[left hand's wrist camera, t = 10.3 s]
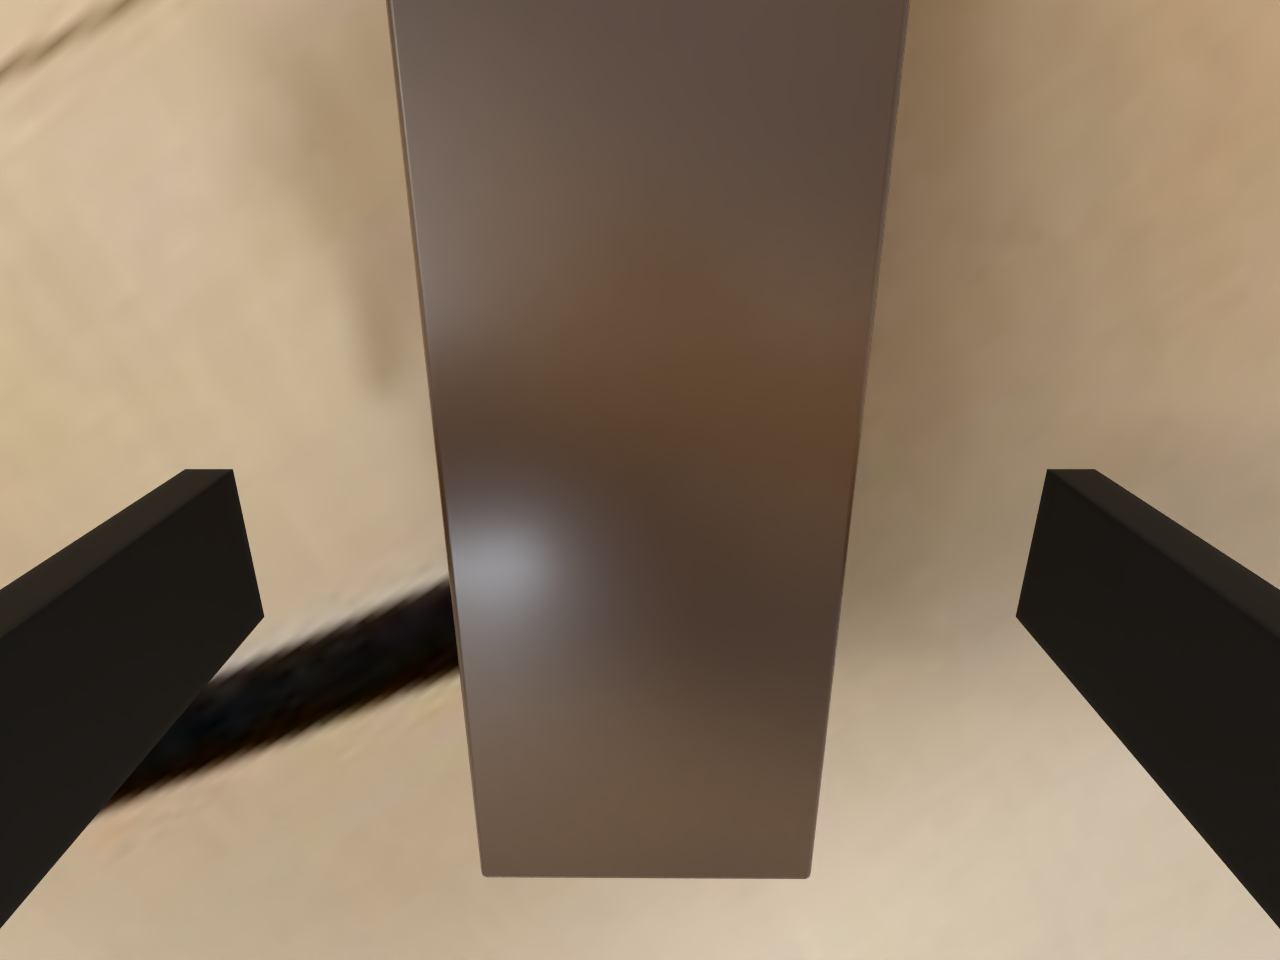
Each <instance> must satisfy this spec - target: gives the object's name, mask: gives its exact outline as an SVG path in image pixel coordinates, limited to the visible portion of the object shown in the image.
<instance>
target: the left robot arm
mask: <svg viewBox="0 0 1280 960" xmlns="http://www.w3.org/2000/svg"><path fill="white" fill-rule="evenodd" d="M263 618H264V613H263V608H262V604H261V599H260V594H259V590H258V585H257V580H256V576H255V571H254V566H253V562H252V557H251V552H250V548H249V543H248V538H247V534H246V529H245V524H244V520H243V515H242V510H241V505H240V501H239V496H238V491H237V487H236V482H235V477H234V473H233V469H185V470H183V471H182V472H180V473H179V474H177V475H176V476H174V477H173V478H171V479H170V480H168V481H167V482H165V483H164V484H162V485H160V486H159V487H157V488H156V489H154V490H153V491H151V492H150V493H148V494H147V495H145V496H144V497H142V498H141V499H139V500H137V501H136V502H134V503H133V504H131V505H130V506H128V507H127V508H125V509H124V510H122V511H121V512H119V513H118V514H116V515H114V516H113V517H111V518H110V519H108V520H107V521H105V522H104V523H102V524H101V525H99V526H98V527H96V528H95V529H93V530H91V531H90V532H88V533H87V534H85V535H84V536H82V537H81V538H79V539H78V540H76V541H75V542H73V543H72V544H70V545H68V546H67V547H65V548H64V549H62V550H61V551H59V552H58V553H56V554H55V555H53V556H52V557H50V558H49V559H47V560H45V561H44V562H42V563H41V564H39V565H38V566H36V567H35V568H33V569H32V570H30V571H29V572H27V573H26V574H24V575H22V576H21V577H19V578H18V579H16V580H15V581H13V582H12V583H10V584H9V585H7V586H6V587H4V588H3V589H1V590H0V928H1V927H2V926H3V925H4V923H5V922H6V921H7V920H8V919H9V918H10V916H11V915H12V914H13V913H14V912H15V910H16V909H17V908H18V907H19V906H20V905H21V903H22V902H23V901H24V900H25V899H26V897H27V896H28V895H29V894H30V893H31V892H32V890H33V889H34V888H35V887H36V886H37V884H38V883H39V882H40V881H41V880H42V879H43V877H44V876H45V875H46V874H47V873H48V871H49V870H50V869H51V868H52V867H53V866H54V864H55V863H56V862H57V861H58V860H59V858H60V857H61V856H62V855H63V854H64V853H65V851H66V850H67V849H68V848H69V847H70V846H71V844H72V843H73V842H74V841H75V840H76V838H77V837H78V836H79V835H80V834H81V833H82V831H83V830H84V829H85V828H86V827H87V825H88V824H89V823H90V822H91V821H92V820H93V818H94V817H95V816H96V815H97V814H98V812H99V811H100V810H101V809H102V808H103V807H104V805H105V804H106V803H107V802H108V801H109V799H110V798H111V797H112V796H113V795H114V794H115V792H116V791H117V790H118V789H119V788H120V786H121V785H122V784H123V783H124V782H125V781H126V779H127V778H128V777H129V776H130V775H131V773H132V772H133V771H134V770H135V769H136V768H137V766H138V765H139V764H140V763H141V762H142V760H143V759H144V758H145V757H146V756H147V755H148V753H149V752H150V751H151V750H152V749H153V747H154V746H155V745H156V744H157V743H158V742H159V740H160V739H161V738H162V737H163V736H164V734H165V733H166V732H167V731H168V730H169V729H170V727H171V726H172V725H173V724H174V723H175V721H176V720H177V719H178V718H179V717H180V716H181V714H182V713H183V712H184V711H185V710H186V708H187V707H188V706H189V705H190V704H191V703H192V701H193V700H194V699H195V698H196V697H197V695H198V694H199V693H200V692H201V691H202V690H203V688H204V687H205V686H206V685H207V684H208V682H209V681H210V680H211V679H212V678H213V677H214V675H215V674H216V673H217V672H218V671H219V670H220V668H221V667H222V666H223V665H224V664H225V662H226V661H227V660H228V659H229V658H230V657H231V655H232V654H233V653H234V652H235V651H236V649H237V648H238V647H239V646H240V645H241V644H242V642H243V641H244V640H245V639H246V638H247V636H248V635H249V634H250V633H251V632H252V631H253V629H254V628H255V627H256V626H257V625H258V623H259V622H260V621H261V620H262V619H263ZM1016 618H1017V619H1018V620H1019V621H1020V622H1021V623H1022V625H1023V626H1024V627H1025V628H1026V629H1027V631H1028V632H1029V633H1030V634H1031V635H1032V636H1033V638H1034V639H1035V640H1036V641H1037V642H1038V644H1039V645H1040V646H1041V647H1042V648H1043V649H1044V651H1045V652H1046V653H1047V654H1048V655H1049V657H1050V658H1051V659H1052V660H1053V661H1054V662H1055V664H1056V665H1057V666H1058V667H1059V668H1060V670H1061V671H1062V672H1063V673H1064V674H1065V675H1066V677H1067V678H1068V679H1069V680H1070V681H1071V682H1072V684H1073V685H1074V686H1075V687H1076V688H1077V690H1078V691H1079V692H1080V693H1081V694H1082V695H1083V697H1084V698H1085V699H1086V700H1087V701H1088V703H1089V704H1090V705H1091V706H1092V707H1093V708H1094V710H1095V711H1096V712H1097V713H1098V714H1099V716H1100V717H1101V718H1102V719H1103V720H1104V721H1105V723H1106V724H1107V725H1108V726H1109V727H1110V729H1111V730H1112V731H1113V732H1114V733H1115V734H1116V736H1117V737H1118V738H1119V739H1120V740H1121V742H1122V743H1123V744H1124V745H1125V746H1126V747H1127V749H1128V750H1129V751H1130V752H1131V753H1132V755H1133V756H1134V757H1135V758H1136V759H1137V760H1138V762H1139V763H1140V764H1141V765H1142V766H1143V768H1144V769H1145V770H1146V771H1147V772H1148V773H1149V775H1150V776H1151V777H1152V778H1153V779H1154V781H1155V782H1156V783H1157V784H1158V785H1159V786H1160V788H1161V789H1162V790H1163V791H1164V792H1165V794H1166V795H1167V796H1168V797H1169V798H1170V799H1171V801H1172V802H1173V803H1174V804H1175V805H1176V807H1177V808H1178V809H1179V810H1180V811H1181V812H1182V814H1183V815H1184V816H1185V817H1186V818H1187V820H1188V821H1189V822H1190V823H1191V824H1192V825H1193V827H1194V828H1195V829H1196V830H1197V831H1198V833H1199V834H1200V835H1201V836H1202V837H1203V838H1204V840H1205V841H1206V842H1207V843H1208V844H1209V846H1210V847H1211V848H1212V849H1213V850H1214V851H1215V853H1216V854H1217V855H1218V856H1219V857H1220V858H1221V860H1222V861H1223V862H1224V863H1225V864H1226V866H1227V867H1228V868H1229V869H1230V870H1231V871H1232V873H1233V874H1234V875H1235V876H1236V877H1237V879H1238V880H1239V881H1240V882H1241V883H1242V884H1243V886H1244V887H1245V888H1246V889H1247V890H1248V892H1249V893H1250V894H1251V895H1252V896H1253V897H1254V899H1255V900H1256V901H1257V902H1258V903H1259V905H1260V906H1261V907H1262V908H1263V909H1264V910H1265V912H1266V913H1267V914H1268V915H1269V916H1270V918H1271V919H1272V920H1273V921H1274V922H1275V923H1276V925H1277V926H1278V927H1279V928H1280V590H1279V589H1277V588H1276V587H1274V586H1273V585H1271V584H1270V583H1268V582H1267V581H1265V580H1264V579H1262V578H1261V577H1259V576H1258V575H1256V574H1254V573H1253V572H1251V571H1250V570H1248V569H1247V568H1245V567H1244V566H1242V565H1241V564H1239V563H1238V562H1236V561H1235V560H1233V559H1231V558H1230V557H1228V556H1227V555H1225V554H1224V553H1222V552H1221V551H1219V550H1218V549H1216V548H1215V547H1213V546H1212V545H1210V544H1208V543H1207V542H1205V541H1204V540H1202V539H1201V538H1199V537H1198V536H1196V535H1195V534H1193V533H1192V532H1190V531H1189V530H1187V529H1185V528H1184V527H1182V526H1181V525H1179V524H1178V523H1176V522H1175V521H1173V520H1172V519H1170V518H1169V517H1167V516H1166V515H1164V514H1162V513H1161V512H1159V511H1158V510H1156V509H1155V508H1153V507H1152V506H1150V505H1149V504H1147V503H1146V502H1144V501H1143V500H1141V499H1139V498H1138V497H1136V496H1135V495H1133V494H1132V493H1130V492H1129V491H1127V490H1126V489H1124V488H1123V487H1121V486H1120V485H1118V484H1116V483H1115V482H1113V481H1112V480H1110V479H1109V478H1107V477H1106V476H1104V475H1103V474H1101V473H1100V472H1098V471H1097V470H1095V469H1047V473H1046V477H1045V482H1044V487H1043V491H1042V496H1041V501H1040V505H1039V510H1038V515H1037V520H1036V524H1035V529H1034V534H1033V538H1032V543H1031V548H1030V552H1029V557H1028V562H1027V566H1026V571H1025V576H1024V580H1023V585H1022V590H1021V594H1020V599H1019V604H1018V608H1017V613H1016Z"/></svg>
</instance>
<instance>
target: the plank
mask: <svg viewBox="0 0 1280 960" xmlns="http://www.w3.org/2000/svg"><path fill="white" fill-rule="evenodd" d="M386 5H387V14H388V23H389V33H390V42H391V51H392V60H393V69H394V78H395V87H396V96H397V105H398V115H399V124H400V133H401V142H402V151H403V160H404V169H405V178H406V188H407V197H408V206H409V215H410V224H411V233H412V242H413V251H414V260H415V270H416V279H417V288H418V297H419V306H420V315H421V324H422V333H423V343H424V352H425V361H426V370H427V379H428V388H429V397H430V406H431V415H432V425H433V434H434V443H435V452H436V461H437V470H438V479H439V488H440V498H441V507H442V516H443V525H444V534H445V543H446V552H447V561H448V570H449V580H450V589H451V598H452V607H453V616H454V625H455V634H456V643H457V653H458V662H459V671H460V680H461V689H462V698H463V707H464V716H465V725H466V735H467V744H468V753H469V762H470V771H471V780H472V789H473V798H474V808H475V817H476V826H477V835H478V844H479V853H480V862H481V871H482V874H483V876H485V877H537V878H727V879H806V878H809V876H810V873H811V865H812V856H813V848H814V839H815V830H816V821H817V812H818V804H819V795H820V786H821V777H822V769H823V760H824V751H825V742H826V734H827V725H828V716H829V707H830V699H831V690H832V681H833V672H834V664H835V655H836V646H837V637H838V629H839V620H840V611H841V602H842V594H843V585H844V576H845V567H846V559H847V550H848V541H849V532H850V524H851V515H852V506H853V497H854V488H855V480H856V471H857V462H858V453H859V445H860V436H861V427H862V418H863V410H864V401H865V392H866V383H867V375H868V366H869V357H870V348H871V340H872V331H873V322H874V313H875V305H876V296H877V287H878V278H879V270H880V261H881V252H882V243H883V235H884V226H885V217H886V208H887V199H888V191H889V182H890V173H891V164H892V156H893V147H894V138H895V129H896V121H897V112H898V103H899V94H900V86H901V77H902V68H903V59H904V51H905V42H906V33H907V24H908V16H909V7H910V0H386Z"/></svg>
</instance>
